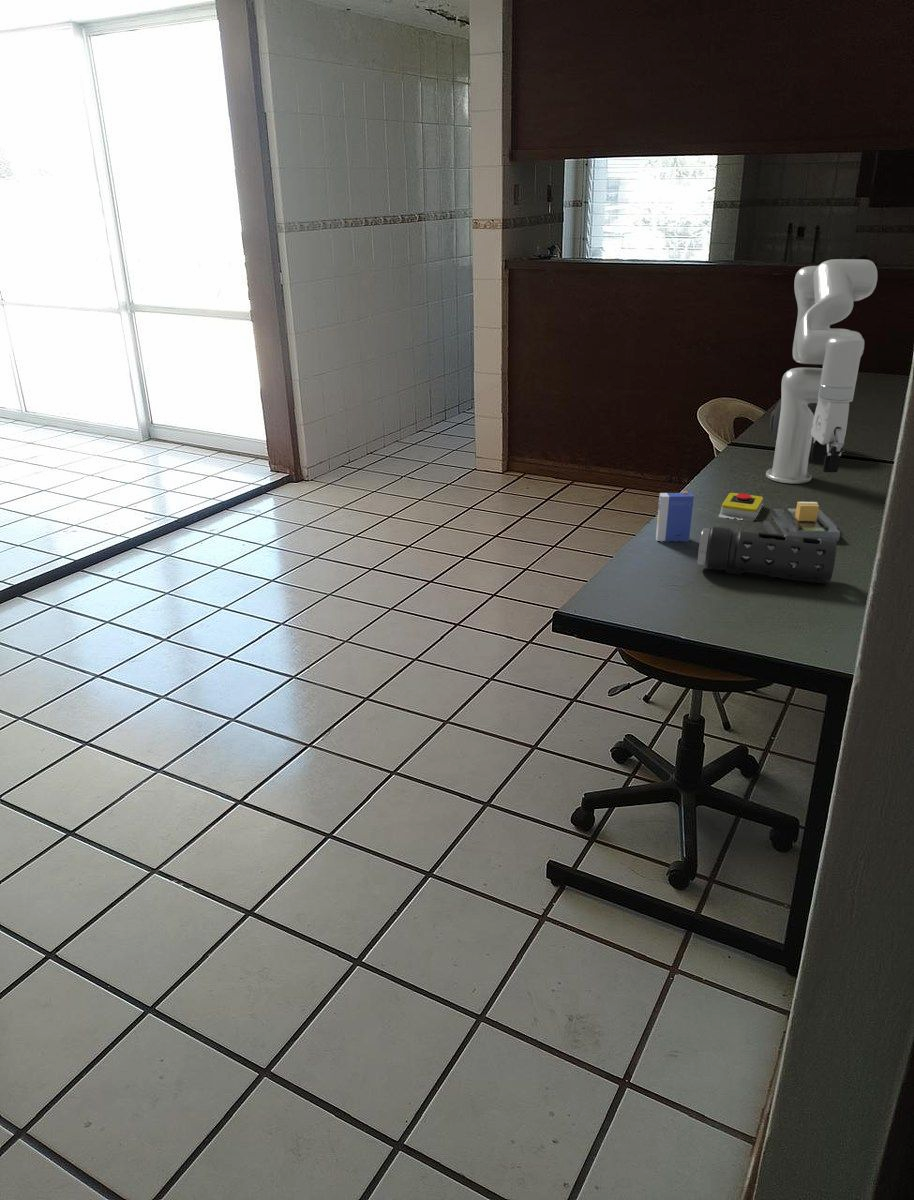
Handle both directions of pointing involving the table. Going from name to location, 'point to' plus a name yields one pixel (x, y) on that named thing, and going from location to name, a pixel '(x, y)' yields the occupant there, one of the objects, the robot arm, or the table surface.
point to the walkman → (674, 516)
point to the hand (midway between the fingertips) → (823, 465)
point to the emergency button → (741, 506)
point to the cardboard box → (807, 511)
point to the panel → (805, 525)
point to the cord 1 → (769, 527)
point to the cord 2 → (832, 522)
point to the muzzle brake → (767, 554)
